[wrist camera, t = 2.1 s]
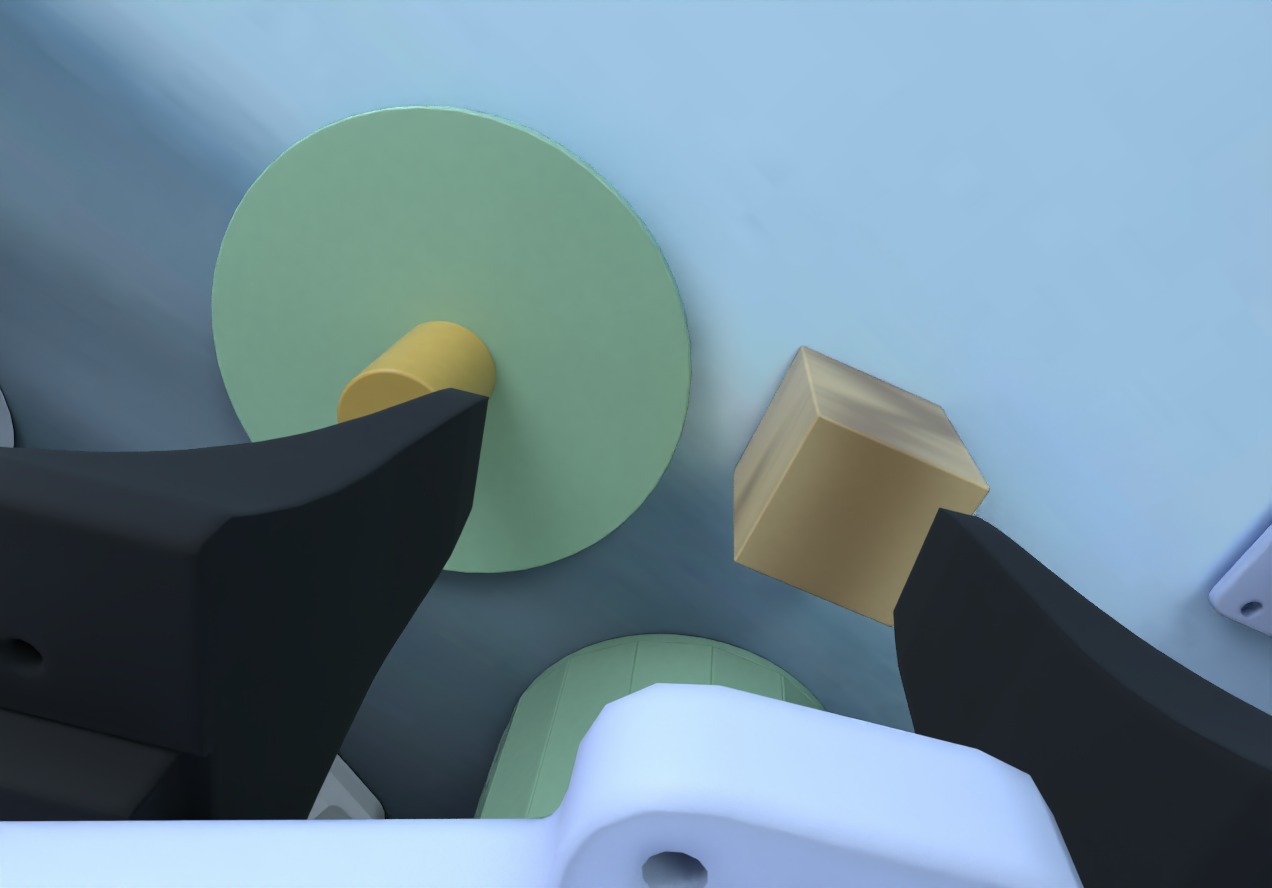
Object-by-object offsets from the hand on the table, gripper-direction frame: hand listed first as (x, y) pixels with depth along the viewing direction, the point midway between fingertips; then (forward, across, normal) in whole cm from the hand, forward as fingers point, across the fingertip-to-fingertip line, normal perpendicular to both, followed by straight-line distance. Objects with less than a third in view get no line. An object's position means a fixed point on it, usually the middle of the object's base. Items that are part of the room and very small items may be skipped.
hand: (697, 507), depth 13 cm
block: (+9, -4, +2) cm, 10 cm away
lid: (+8, +6, +2) cm, 11 cm away
